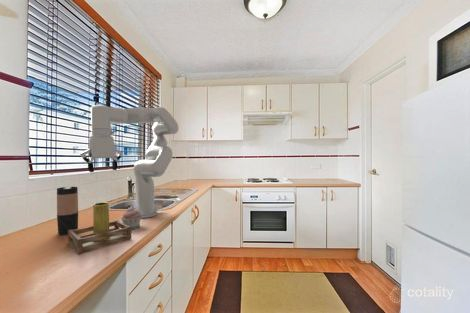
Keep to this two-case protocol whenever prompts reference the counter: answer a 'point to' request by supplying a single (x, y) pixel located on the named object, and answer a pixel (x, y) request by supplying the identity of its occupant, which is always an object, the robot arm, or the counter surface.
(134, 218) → the cupcake
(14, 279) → the counter surface
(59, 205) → the travel mug
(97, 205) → the vase
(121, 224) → the tray
